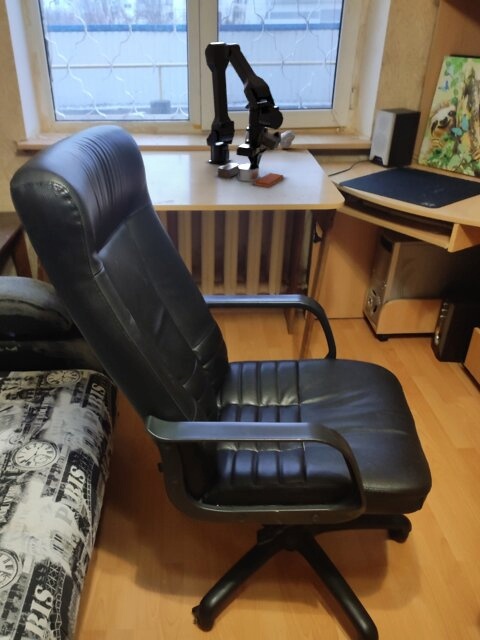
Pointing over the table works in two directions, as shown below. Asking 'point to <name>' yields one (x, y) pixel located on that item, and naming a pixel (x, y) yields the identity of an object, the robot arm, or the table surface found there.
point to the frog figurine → (287, 139)
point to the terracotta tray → (268, 180)
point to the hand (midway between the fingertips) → (255, 170)
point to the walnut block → (228, 170)
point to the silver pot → (248, 172)
